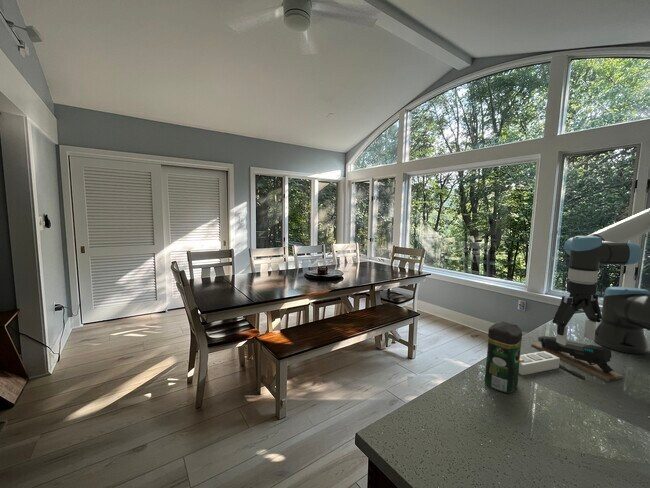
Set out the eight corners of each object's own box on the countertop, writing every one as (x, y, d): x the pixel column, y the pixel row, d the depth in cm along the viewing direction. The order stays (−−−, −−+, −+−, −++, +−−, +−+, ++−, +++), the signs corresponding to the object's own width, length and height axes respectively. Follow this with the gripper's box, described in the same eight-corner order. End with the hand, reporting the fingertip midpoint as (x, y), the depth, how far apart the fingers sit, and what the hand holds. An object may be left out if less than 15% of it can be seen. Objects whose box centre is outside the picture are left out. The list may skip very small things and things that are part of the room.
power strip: (547, 359, 101) (549, 348, 100) (587, 378, 90) (588, 366, 89) (508, 366, 96) (509, 355, 95) (544, 388, 84) (545, 375, 84)
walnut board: (544, 343, 113) (545, 341, 113) (621, 377, 90) (622, 375, 90) (531, 345, 111) (531, 343, 111) (606, 381, 88) (607, 378, 88)
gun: (609, 375, 90) (600, 341, 92) (543, 364, 108) (536, 337, 110) (617, 372, 91) (608, 339, 93) (551, 362, 109) (544, 335, 111)
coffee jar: (491, 372, 92) (496, 317, 90) (520, 384, 86) (526, 325, 84) (479, 384, 86) (484, 325, 84) (510, 398, 80) (516, 334, 78)
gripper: (594, 276, 105) (587, 332, 107) (543, 281, 97) (537, 340, 100) (620, 281, 97) (612, 341, 100) (567, 287, 90) (560, 351, 93)
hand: (575, 341), depth 100 cm, fingers open, 13 cm apart
